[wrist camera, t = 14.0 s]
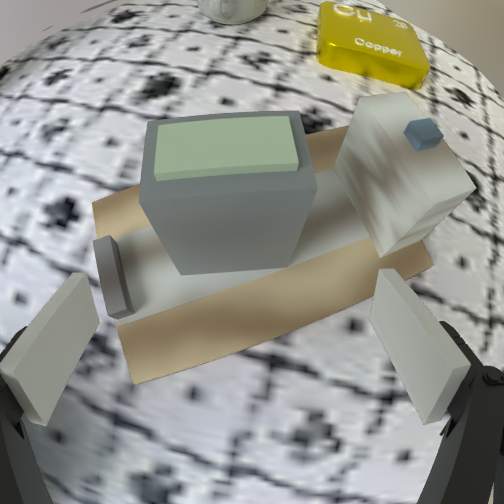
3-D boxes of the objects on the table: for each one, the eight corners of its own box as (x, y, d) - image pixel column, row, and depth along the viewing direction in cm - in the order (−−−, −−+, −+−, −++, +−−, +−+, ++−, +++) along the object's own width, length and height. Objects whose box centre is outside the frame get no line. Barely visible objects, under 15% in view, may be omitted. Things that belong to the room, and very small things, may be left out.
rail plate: (95, 207, 27) (39, 129, 17) (348, 131, 31) (379, 46, 21) (138, 384, 22) (62, 386, 12) (428, 268, 26) (507, 211, 15)
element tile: (315, 68, 36) (321, 38, 31) (316, 20, 41) (320, -4, 37) (422, 95, 35) (435, 70, 31) (404, 42, 41) (412, 20, 36)
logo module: (180, 216, 26) (145, 114, 15) (279, 208, 26) (300, 102, 15) (180, 275, 24) (134, 194, 13) (287, 267, 24) (320, 181, 14)
